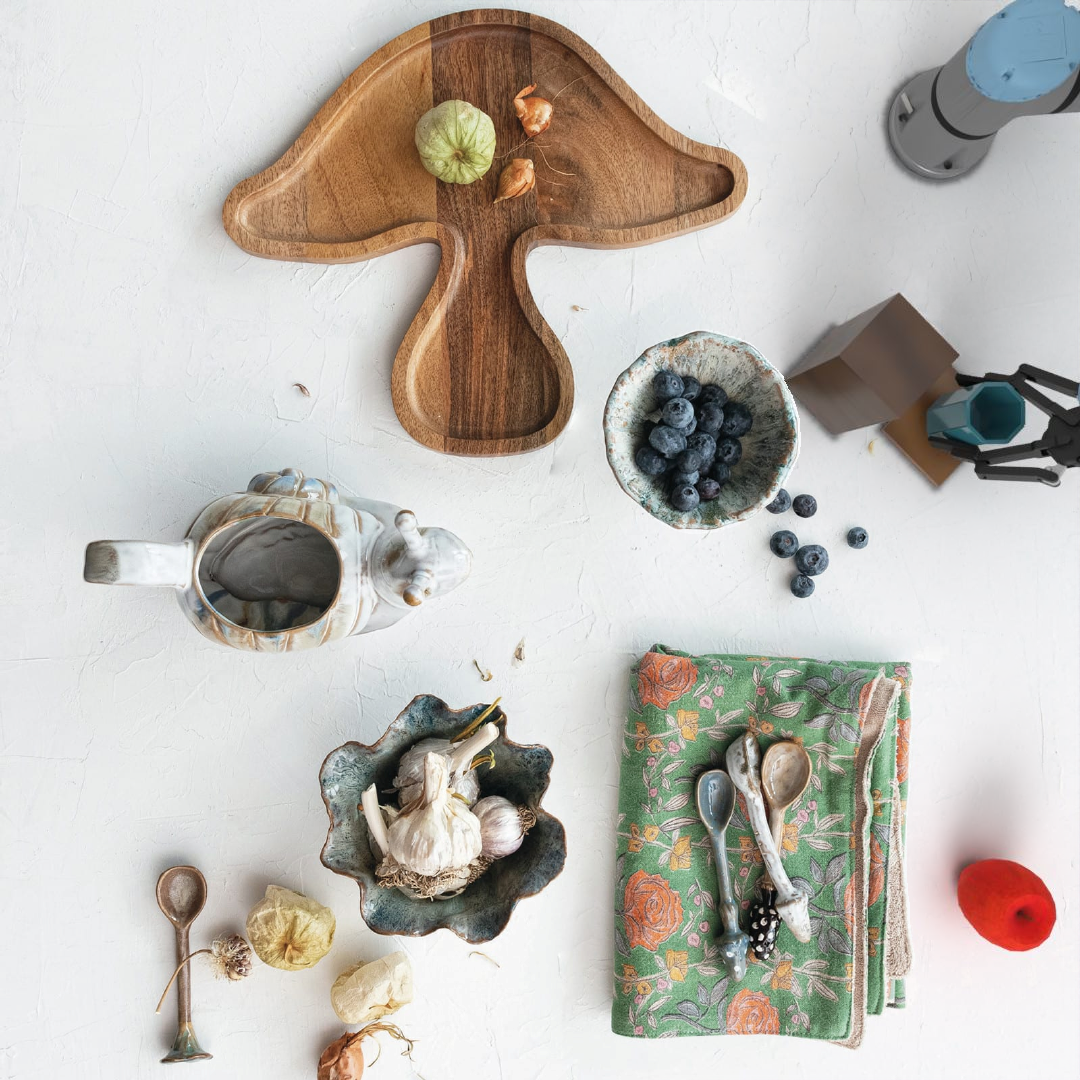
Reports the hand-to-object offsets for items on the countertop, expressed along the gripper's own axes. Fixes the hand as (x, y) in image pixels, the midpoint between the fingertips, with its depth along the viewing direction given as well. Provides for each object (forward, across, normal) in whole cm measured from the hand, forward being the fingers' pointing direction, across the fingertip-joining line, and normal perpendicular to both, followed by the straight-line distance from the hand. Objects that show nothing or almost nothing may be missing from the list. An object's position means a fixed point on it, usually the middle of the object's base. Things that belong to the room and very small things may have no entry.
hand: (944, 410), depth 119 cm
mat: (+2, 0, -7) cm, 7 cm away
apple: (-21, -60, -31) cm, 71 cm away
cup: (0, 0, -4) cm, 4 cm away
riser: (+15, -1, +6) cm, 16 cm away
